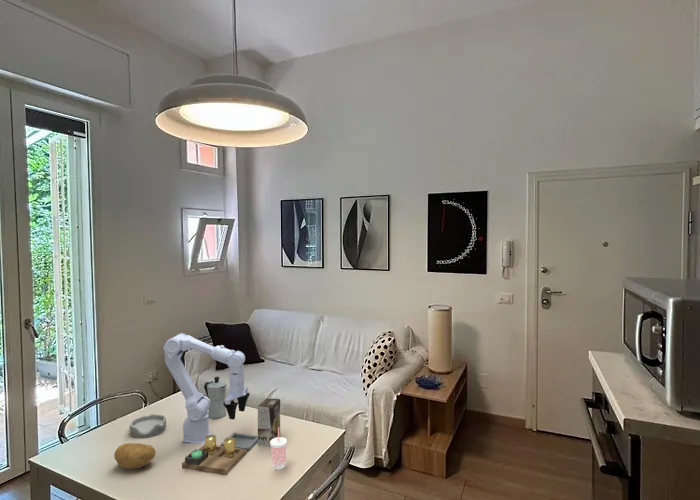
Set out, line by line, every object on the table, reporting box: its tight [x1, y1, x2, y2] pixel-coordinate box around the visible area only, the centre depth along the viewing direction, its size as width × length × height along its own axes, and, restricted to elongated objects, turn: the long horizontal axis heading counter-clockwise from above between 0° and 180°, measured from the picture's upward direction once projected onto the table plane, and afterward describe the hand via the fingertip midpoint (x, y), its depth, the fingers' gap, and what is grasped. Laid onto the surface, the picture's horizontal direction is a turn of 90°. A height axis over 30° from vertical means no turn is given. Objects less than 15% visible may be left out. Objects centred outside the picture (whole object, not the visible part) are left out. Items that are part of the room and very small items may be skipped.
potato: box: [113, 442, 157, 470], centre depth 141 cm, size 10×14×8 cm
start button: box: [191, 449, 202, 458], centre depth 141 cm, size 4×4×2 cm
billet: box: [223, 436, 236, 458], centre depth 146 cm, size 4×4×7 cm
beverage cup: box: [270, 427, 288, 470], centre depth 141 cm, size 6×6×14 cm
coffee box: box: [257, 397, 281, 448], centre depth 158 cm, size 9×6×16 cm
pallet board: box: [181, 443, 248, 477], centre depth 144 cm, size 18×14×4 cm
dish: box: [129, 413, 167, 439], centre depth 168 cm, size 14×14×5 cm
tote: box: [220, 432, 258, 453], centre depth 156 cm, size 12×10×2 cm
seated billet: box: [204, 434, 217, 456], centre depth 148 cm, size 4×4×7 cm
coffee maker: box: [203, 376, 228, 420], centre depth 184 cm, size 15×9×18 cm, turn 59°
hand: (237, 414), depth 161 cm, fingers open, 7 cm apart
